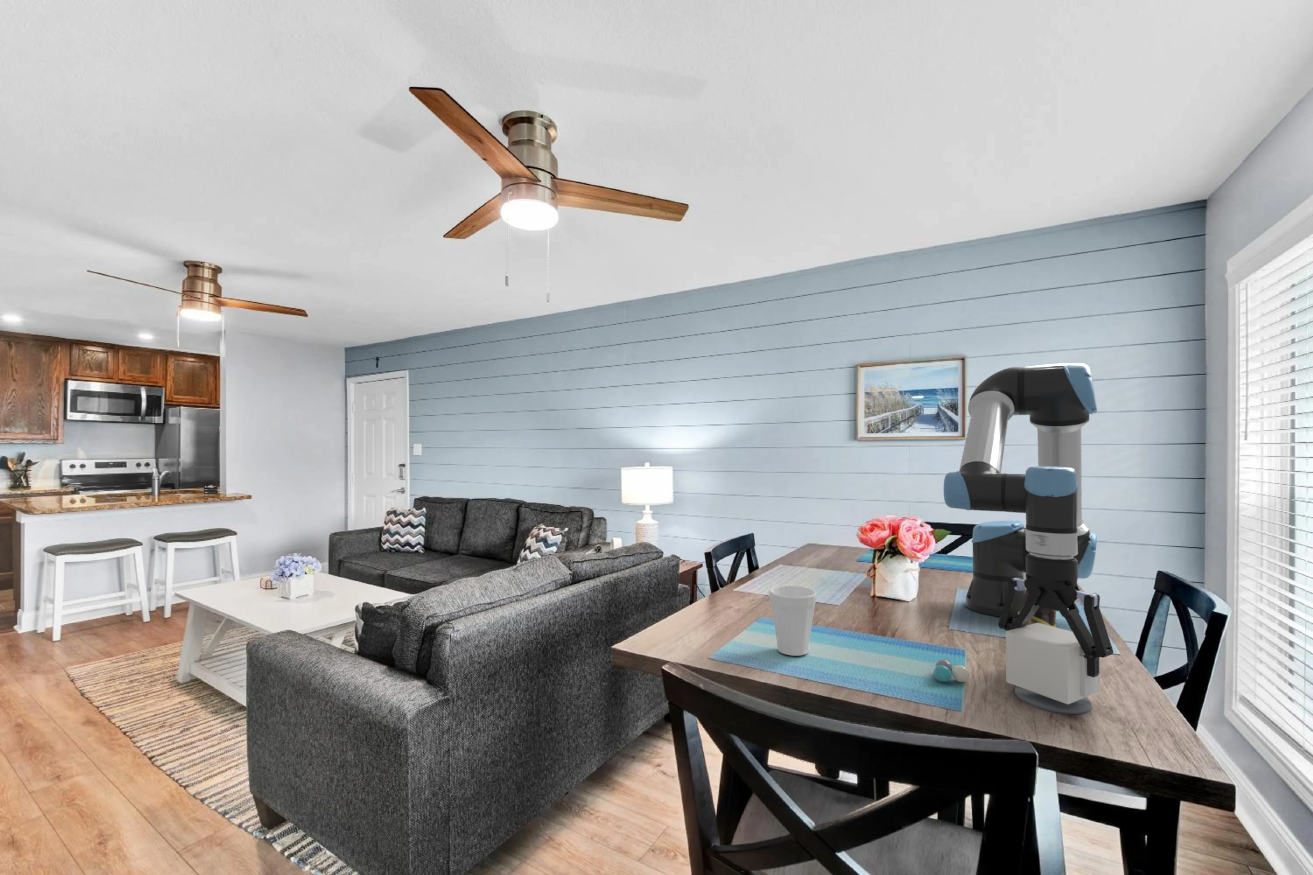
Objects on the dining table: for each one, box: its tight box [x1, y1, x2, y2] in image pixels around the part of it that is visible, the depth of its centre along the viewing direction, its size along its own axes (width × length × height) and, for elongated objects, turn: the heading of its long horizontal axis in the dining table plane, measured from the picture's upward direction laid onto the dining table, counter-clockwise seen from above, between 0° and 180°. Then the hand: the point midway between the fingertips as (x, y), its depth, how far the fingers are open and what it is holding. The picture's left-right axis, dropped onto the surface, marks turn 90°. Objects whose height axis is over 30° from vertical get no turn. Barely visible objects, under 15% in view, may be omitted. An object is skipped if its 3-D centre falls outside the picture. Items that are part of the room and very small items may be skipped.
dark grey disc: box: [1014, 685, 1092, 715], centre depth 101 cm, size 11×11×1 cm
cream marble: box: [951, 664, 970, 683], centre depth 108 cm, size 3×3×3 cm
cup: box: [768, 584, 817, 657], centre depth 124 cm, size 10×10×13 cm
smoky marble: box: [935, 658, 954, 674], centre depth 111 cm, size 3×3×3 cm
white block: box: [1005, 623, 1101, 704], centre depth 101 cm, size 10×10×9 cm
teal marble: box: [933, 665, 953, 683], centre depth 108 cm, size 3×3×3 cm
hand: (1052, 682), depth 101 cm, fingers closed on white block, 10 cm apart
